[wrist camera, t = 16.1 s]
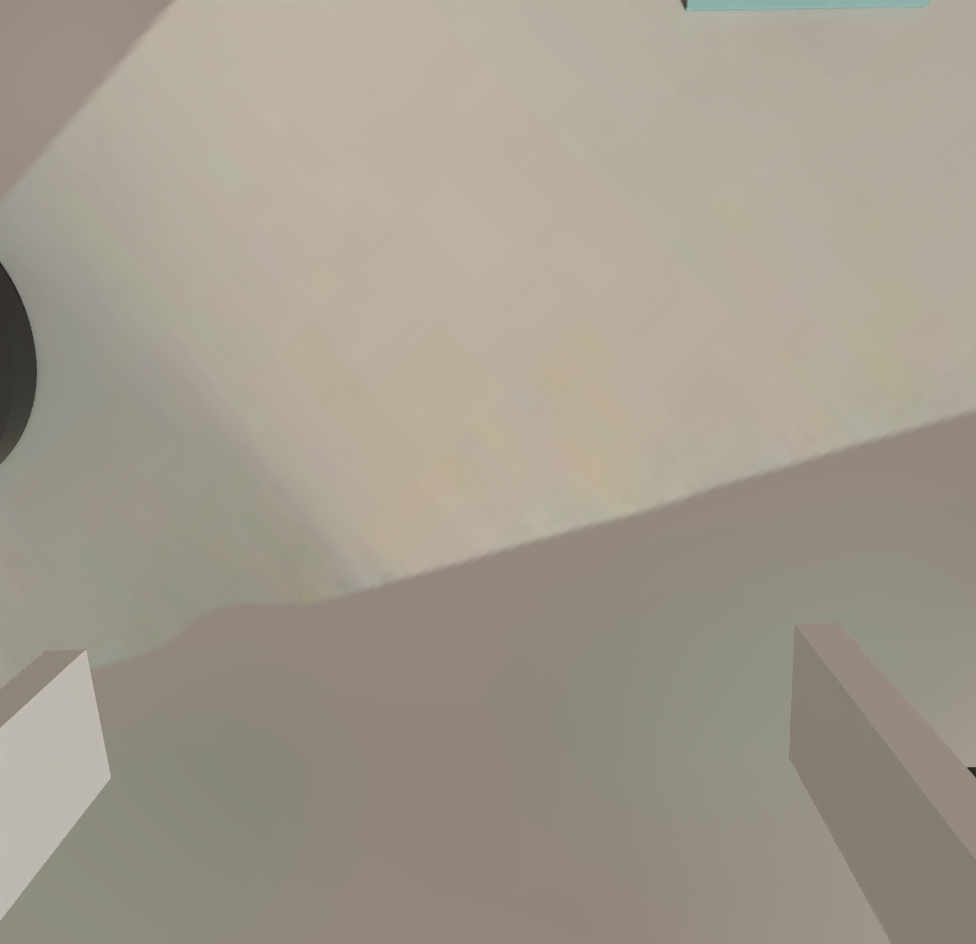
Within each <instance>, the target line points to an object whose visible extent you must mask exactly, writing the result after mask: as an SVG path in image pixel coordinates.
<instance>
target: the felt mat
mask: <svg viewBox="0 0 976 944" xmlns="http://www.w3.org/2000/svg"><path fill="white" fill-rule="evenodd" d="M928 4H929V0H686V10H735V9H801V8H868V7H924V6H926V5H928Z"/></svg>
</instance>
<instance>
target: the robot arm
mask: <svg viewBox="0 0 976 944" xmlns="http://www.w3.org/2000/svg"><path fill="white" fill-rule="evenodd" d="M36 378H37V365H36V353H35V346H34V340H33V336H32V332H31V328H30V324H29V321H28V318H27V315H26V312H25V310H24V307H23V305H22V302H21V300H20V298H19V296H18V294H17V292H16V290H15V288H14V286H13V285H12V283H11V281H10V279H9V278H8V276H7V275H6V273H5V272H4V270H3V269H2V267H1V266H0V464H1V463H2V462H3V461H4V460H5V458H6V457H7V456H8V455H9V454H10V453H11V451H12V450H13V448H14V447H15V446H16V444H17V442H18V441H19V439H20V437H21V436H22V433H23V431H24V429H25V427H26V425H27V422H28V420H29V417H30V414H31V410H32V407H33V402H34V397H35V390H36ZM789 758H790V760H791V762H792V764H793V766H794V767H795V769H796V771H797V773H798V775H799V777H800V779H801V780H802V782H803V784H804V786H805V788H806V790H807V791H808V793H809V795H810V797H811V799H812V800H813V802H814V804H815V806H816V808H817V810H818V811H819V813H820V815H821V817H822V819H823V820H824V822H825V824H826V826H827V828H828V830H829V831H830V833H831V835H832V837H833V839H834V841H835V842H836V844H837V846H838V848H839V850H840V851H841V853H842V855H843V857H844V859H845V861H846V862H847V864H848V866H849V868H850V870H851V872H852V873H853V875H854V877H855V879H856V881H857V882H858V884H859V886H860V888H861V890H862V892H863V893H864V895H865V897H866V899H867V901H868V902H869V904H870V906H871V908H872V910H873V911H874V913H875V915H876V917H877V919H878V921H879V923H880V924H881V926H882V928H883V930H884V932H885V933H886V935H887V937H888V939H889V941H890V943H891V944H976V767H966V766H965V765H964V764H963V763H962V762H961V761H960V760H959V758H958V757H957V756H956V755H955V754H954V753H953V752H952V750H951V749H950V748H949V747H948V746H947V745H946V744H945V743H944V742H943V740H942V739H941V738H940V737H939V736H938V735H937V734H936V733H935V731H934V730H933V729H932V728H931V727H930V726H929V725H928V723H927V722H926V721H925V720H924V719H923V718H922V717H921V715H920V714H919V713H918V712H917V711H916V710H915V709H914V708H913V706H912V705H911V704H910V703H909V702H908V701H907V700H906V698H905V697H904V696H903V695H902V694H901V693H900V692H899V691H898V690H897V689H896V687H895V686H894V685H893V684H892V683H891V682H890V681H889V679H888V678H887V677H886V676H885V675H884V674H883V673H882V671H881V670H880V669H879V668H878V667H877V666H876V665H875V663H874V662H873V661H872V660H871V659H870V658H869V657H868V656H867V655H866V654H865V652H864V651H863V650H862V649H861V648H860V647H859V645H858V644H857V643H856V642H855V641H854V640H853V639H852V638H851V637H850V635H849V634H848V633H847V632H846V631H845V630H844V628H843V627H842V626H841V625H840V624H839V623H838V622H829V623H801V624H795V631H794V655H793V678H792V701H791V724H790V747H789ZM110 778H111V776H110V771H109V766H108V760H107V755H106V750H105V745H104V741H103V735H102V730H101V725H100V720H99V715H98V710H97V704H96V699H95V694H94V689H93V684H92V679H91V673H90V668H89V663H88V658H87V653H86V649H85V650H58V651H45V652H44V653H43V654H42V655H41V656H39V657H38V658H37V659H36V660H35V661H34V662H32V663H31V664H30V665H29V666H28V667H26V668H25V669H24V670H23V671H22V672H20V673H19V674H18V675H17V676H16V677H15V678H13V679H12V680H11V681H10V682H9V683H7V684H6V685H5V686H4V687H3V688H1V689H0V920H1V919H2V917H3V916H4V915H5V914H6V912H7V911H8V910H9V908H10V907H11V906H12V905H13V903H14V902H15V901H16V899H17V898H18V897H19V896H20V894H21V893H22V892H23V890H24V889H25V888H26V886H27V885H28V884H29V883H30V881H31V880H32V878H33V877H34V876H35V875H36V874H37V872H38V871H39V870H40V868H41V867H42V866H43V865H44V863H45V862H46V861H47V859H48V858H49V856H50V855H51V854H52V853H53V852H54V850H55V849H56V848H57V846H58V845H59V844H60V843H61V841H62V840H63V838H64V837H65V836H66V835H67V834H68V832H69V831H70V830H71V828H72V827H73V826H74V824H75V823H76V822H77V820H78V819H79V818H80V817H81V815H82V814H83V813H84V812H85V810H86V809H87V808H88V806H89V805H90V804H91V803H92V801H93V800H94V799H95V797H96V796H97V795H98V794H99V792H100V791H101V790H102V788H103V787H104V786H105V784H106V783H107V782H108V780H109V779H110Z"/></svg>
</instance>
